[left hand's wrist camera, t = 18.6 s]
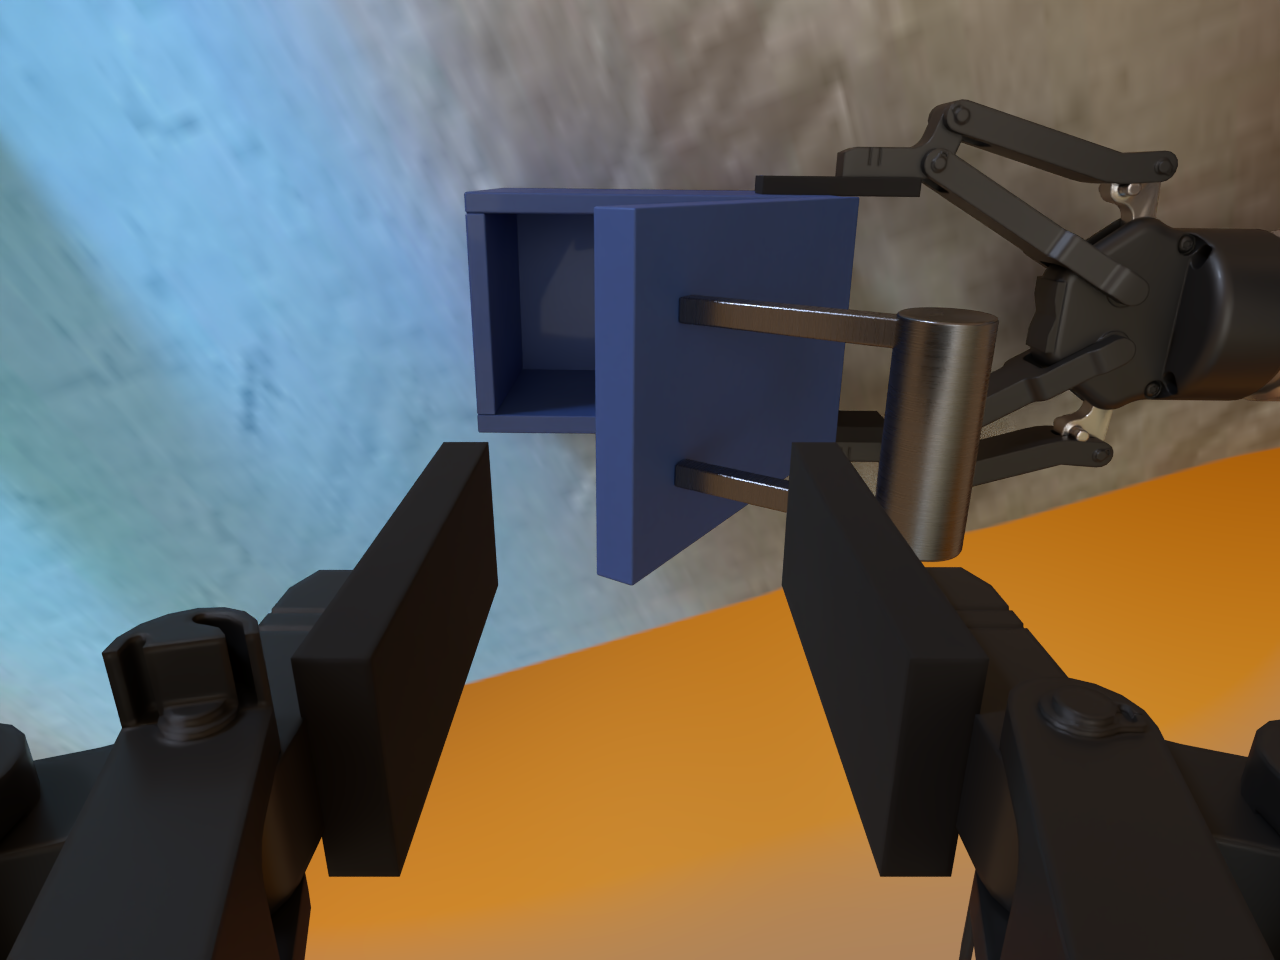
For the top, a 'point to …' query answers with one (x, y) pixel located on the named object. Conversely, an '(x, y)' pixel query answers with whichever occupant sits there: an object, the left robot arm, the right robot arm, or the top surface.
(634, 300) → the lid
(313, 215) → the top surface
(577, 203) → the chest
